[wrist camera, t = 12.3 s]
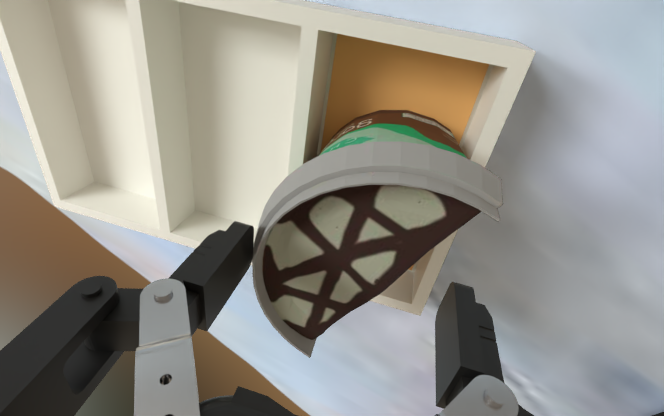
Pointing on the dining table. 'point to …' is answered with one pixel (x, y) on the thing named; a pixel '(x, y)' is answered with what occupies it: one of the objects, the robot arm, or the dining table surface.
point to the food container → (362, 218)
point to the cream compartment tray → (234, 103)
